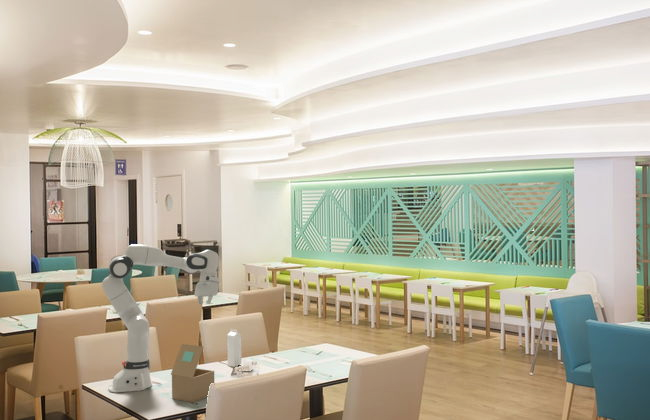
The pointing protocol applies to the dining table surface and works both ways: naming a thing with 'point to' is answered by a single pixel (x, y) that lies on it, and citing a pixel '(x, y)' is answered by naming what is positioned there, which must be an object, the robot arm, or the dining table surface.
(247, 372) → the dining table surface
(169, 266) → the robot arm
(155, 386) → the dining table surface
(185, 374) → the lid flap
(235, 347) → the milk
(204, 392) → the carton
